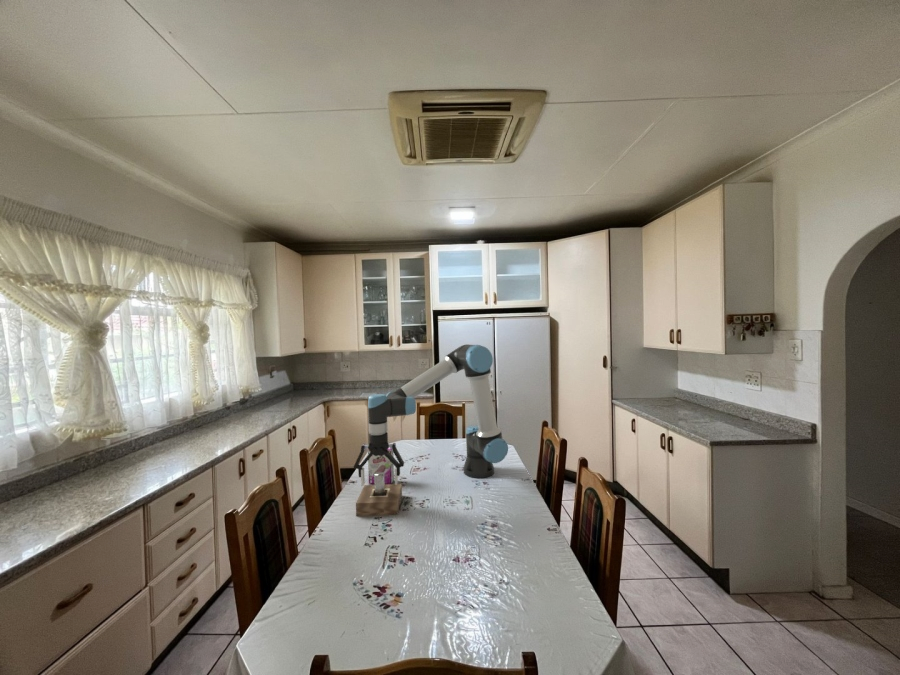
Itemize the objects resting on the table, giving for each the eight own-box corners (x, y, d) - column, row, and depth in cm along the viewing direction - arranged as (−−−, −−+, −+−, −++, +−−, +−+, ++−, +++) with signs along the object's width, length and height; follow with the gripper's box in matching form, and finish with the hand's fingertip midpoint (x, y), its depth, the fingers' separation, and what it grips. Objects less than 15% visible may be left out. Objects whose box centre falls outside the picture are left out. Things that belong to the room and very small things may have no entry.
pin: (386, 499, 148) (384, 471, 147) (384, 504, 144) (383, 475, 143) (376, 500, 147) (375, 471, 147) (374, 505, 143) (373, 476, 143)
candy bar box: (368, 484, 165) (367, 449, 165) (371, 480, 170) (370, 446, 170) (391, 485, 164) (390, 449, 164) (394, 480, 169) (393, 446, 169)
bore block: (401, 495, 154) (401, 483, 154) (397, 514, 138) (397, 501, 138) (364, 496, 153) (364, 485, 153) (356, 516, 137) (355, 503, 137)
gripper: (409, 429, 149) (410, 479, 149) (349, 430, 148) (351, 481, 149) (408, 434, 141) (409, 486, 142) (345, 436, 141) (346, 489, 141)
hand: (379, 484), depth 145 cm, fingers open, 13 cm apart
